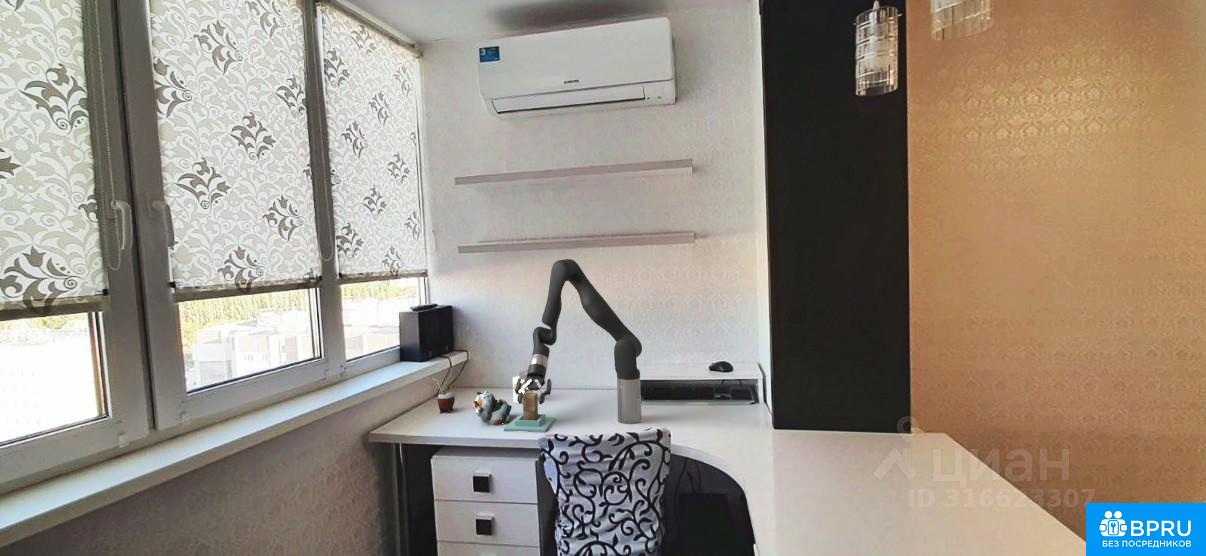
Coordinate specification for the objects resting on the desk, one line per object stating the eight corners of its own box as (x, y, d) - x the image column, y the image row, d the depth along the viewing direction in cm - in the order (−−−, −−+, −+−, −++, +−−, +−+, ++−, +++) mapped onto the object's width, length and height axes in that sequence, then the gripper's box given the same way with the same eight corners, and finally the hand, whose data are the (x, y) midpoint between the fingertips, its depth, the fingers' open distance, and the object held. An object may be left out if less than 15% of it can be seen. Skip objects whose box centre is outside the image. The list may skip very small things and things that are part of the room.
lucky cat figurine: (506, 426, 188) (488, 397, 185) (480, 436, 190) (462, 408, 187) (516, 404, 202) (499, 377, 199) (492, 414, 205) (475, 388, 201)
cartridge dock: (555, 419, 195) (555, 411, 195) (544, 432, 180) (544, 424, 180) (517, 418, 198) (517, 410, 198) (503, 431, 182) (503, 423, 182)
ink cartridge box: (526, 398, 228) (525, 367, 228) (533, 399, 225) (532, 368, 225) (512, 402, 222) (511, 370, 221) (520, 404, 219) (519, 371, 218)
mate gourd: (457, 411, 210) (457, 377, 209) (441, 415, 204) (440, 380, 204) (449, 408, 215) (448, 374, 214) (432, 412, 209) (431, 377, 209)
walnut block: (538, 420, 191) (537, 393, 191) (534, 424, 186) (534, 396, 186) (527, 420, 192) (526, 392, 191) (523, 423, 187) (522, 395, 187)
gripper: (519, 362, 198) (510, 397, 187) (552, 363, 196) (545, 398, 185) (523, 372, 203) (515, 407, 192) (556, 373, 201) (549, 408, 190)
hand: (530, 403), depth 188 cm, fingers open, 8 cm apart
